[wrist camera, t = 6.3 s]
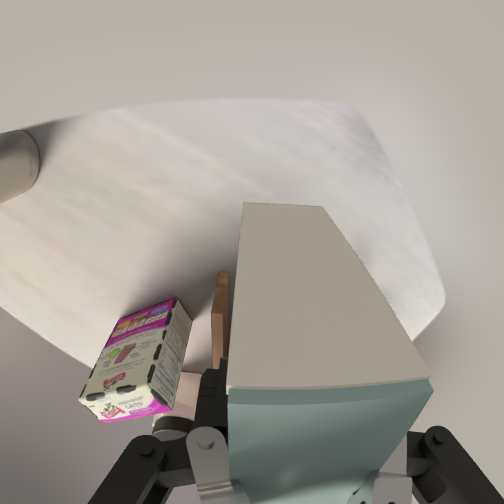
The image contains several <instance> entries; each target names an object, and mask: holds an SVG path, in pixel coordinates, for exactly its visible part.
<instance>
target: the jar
mask: <svg viewBox="0 0 504 504" xmlns="http://www.w3.org/2000/svg"><path fill="white" fill-rule="evenodd" d="M201 376H202V374H199V373H189V372H181V374H180V378H179V383H178V388H177V393H176V397H175V402H174V407H173V411H171V412H166V413H161V414H155V417H154V421H153V424H152V426H153V431H152V435H151V436H154V437H156V438H158V439H159V440H160V441H168V440H175V439H179V438H182V437H184V436H185V435H187V434H188V433H189V432H190V430H191V429H192V427H193V423H194V416H195V410H196V404H197V398H198V392H199V386H200V380H201Z"/></svg>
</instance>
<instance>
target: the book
mask: <svg viewBox="0 0 504 504" xmlns="http://www.w3.org/2000/svg"><path fill="white" fill-rule="evenodd" d="M430 376H431V375H430V373H429V372H428V369H427V368H426V366H425V364H424V362H423V361H422V359H421V357H420V355H419V353H418V352H417V350H416V348H415V347H414V345H413V343H412V341H411V340H410V338H409V336H408V335H407V333H406V331H405V329H404V328H403V326H402V324H401V323H400V321H399V320H398V318H397V316H396V315H395V313H394V311H393V310H392V308H391V307H390V305H389V303H388V302H387V300H386V299H385V297H384V295H383V294H382V292H381V291H380V289H379V288H378V286H377V285H376V283H375V281H374V280H373V278H372V277H371V275H370V274H369V272H368V271H367V269H366V268H365V266H364V265H363V263H362V262H361V260H360V259H359V257H358V256H357V254H356V253H355V251H354V250H353V249H352V247H351V246H350V244H349V243H348V241H347V240H346V238H345V237H344V236H343V234H342V233H341V231H340V230H339V229H338V227H337V226H336V224H335V223H334V222H333V220H332V219H331V217H330V216H329V215H328V213H327V212H326V210H325V209H324V208H323V207H320V206H306V205H289V204H269V203H246V202H244V203H243V210H242V220H241V230H240V240H239V250H238V260H237V271H236V281H235V292H234V302H233V313H232V324H231V335H230V346H229V358H228V369H227V381H226V395H228V446H229V479H239V481H240V482H241V483H242V484H243V486H244V488H245V490H246V493H247V496H248V498H249V501H250V503H251V504H347V502H348V499H349V497H350V495H351V494H352V493H355V492H358V491H359V489H360V488H361V487H362V486H363V484H364V482H365V479H366V476H367V475H368V474H369V472H370V471H371V470H376V469H381V467H382V466H383V465H384V463H385V462H386V461H387V460H388V458H389V457H390V456H391V454H392V453H393V452H394V450H395V449H396V448H397V446H398V445H399V444H400V442H401V441H402V439H403V438H404V436H405V435H406V434H407V432H408V431H409V429H410V428H411V426H412V425H413V423H414V422H415V420H416V419H417V417H418V416H419V414H420V413H421V411H422V409H423V408H424V406H425V405H426V403H427V401H428V400H429V398H430V396H431V394H432V393H433V391H434V390H433V388H432V386H431V384H430V382H429V381H428V380H429V378H430Z"/></svg>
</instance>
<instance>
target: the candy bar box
mask: <svg viewBox="0 0 504 504" xmlns="http://www.w3.org/2000/svg"><path fill="white" fill-rule="evenodd" d="M191 326H192V320H191V318H190V316H189V315H188V314H187V312H186V311H185V310H184V308H183V306H182V305H181V303H180V302H179V300H178V299H177V297H174V298H172V299H169V300H167V301H164V302H162V303H160V304H157V305H155V306H152V307H150V308H147V309H145V310H142V311H140V312H137V313H135V314H132V315H130V316H127V317H125V318H122V319H120V320H118V322H117V324H116V326H115V327H114V329H113V331H112V333H111V335H110V337H109V339H108V341H107V343H106V345H105V347H104V348H103V350H102V352H101V354H100V357H99V358H98V360H97V362H96V364H95V366H94V368H93V370H92V372H91V375H90V377H89V379H88V380H87V383H86V385H85V387H84V389H83V391H82V393H81V395H80V398H79V399H78V400H79V401H80V402H81V403H82V404H83V405H84V406H85V407H86V408H88V409H89V411H91V412H92V413H93V414H94V415H96V417H97V418H98V419H99V420H100V421H102V422H103V423H106V422H112V421H119V420H125V419H132V418H138V417H144V416H150V415H155V414H161V413H166V412H171V411H173V407H174V402H175V397H176V393H177V388H178V383H179V378H180V374H181V370H182V364H183V361H184V357H185V352H186V347H187V343H188V339H189V335H190V330H191Z"/></svg>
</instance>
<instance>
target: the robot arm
mask: <svg viewBox="0 0 504 504" xmlns="http://www.w3.org/2000/svg"><path fill="white" fill-rule="evenodd" d="M38 172H39V153H38V149H37V146H36V144H35V142H34V140H33V139H32V137H31V136H30V135H29V134H27V133H26V132H24V131H21V130H16V131H11V132H5V133H1V134H0V204H1V203H3V202H5V201H7V200H9V199H11V198H13V197H16V196H18V195H20V194H22V193H24V192H26V191H28V190H29V189H30V188H31V187H32V186H33V184H34V183H35V181H36V179H37V176H38ZM227 369H228V358H226V357H220V364H219V369H208V368H207V370H206V371H205V372H204V374H203V375H202V376H201V380H200V386H199V392H198V398H197V404H196V410H195V416H194V423H193V427H192V429H191V430H190V432H189V433H188V434H187V435H185V436H184V437H182V438H179V439H175V440H168V441H160V440H159V439H158V438H156V437H154V436H151V435H141V436H138V437H136V438H134V439H133V440H131V442H130V443H129V444H128V446H127V447H126V449H125V450H124V452H123V453H122V455H121V456H120V457H119V459H118V461H117V462H116V463H115V465H114V466H113V468H112V469H111V471H110V472H109V473H108V475H107V476H106V478H105V479H104V481H103V482H102V484H101V485H100V486H99V488H98V489H97V491H96V492H95V494H94V495H93V497H92V498H91V499H90V501H89V502H88V504H165V503H166V501H167V499H168V497H169V495H170V493H171V492H172V490H173V488H174V487H178V486H185V485H190V484H196V485H197V489H198V492H199V496H200V499H201V503H202V504H251V503H250V501H249V498H248V496H247V493H246V490H245V488H244V486H243V484H242V483H241V482H240V481H239V479H229V446H228V395H226V381H227ZM412 494H413V495H414V496H415V498H416V499H417V501H418V502H419V504H504V499H503V498H502V497H501V495H500V494H499V493H498V491H497V490H496V489H495V487H494V486H493V485H492V484H491V482H490V481H489V480H488V478H487V477H486V476H485V475H484V473H483V472H482V471H481V470H480V468H479V467H478V466H477V464H476V463H475V462H474V461H473V459H472V458H471V457H470V456H469V454H468V453H467V452H466V451H465V450H464V448H463V447H462V446H461V445H460V443H459V442H458V441H457V440H456V438H455V437H454V436H453V435H452V433H451V432H450V431H449V430H448V429H446V428H445V427H442V426H433V427H430V428H429V429H428V430H427V431H426V432H425V433H421V432H411V431H408V432H407V434H406V435H405V436H404V438H403V439H402V441H401V442H400V444H399V445H398V446H397V448H396V449H395V450H394V452H393V453H392V454H391V456H390V457H389V458H388V460H387V461H386V462H385V463H384V465H383V466H382V467H381V469H376V470H371V471H370V472H369V474H368V475H367V476H366V479H365V482H364V484H363V486H362V487H361V488H360V489H359V491H358V492H355V493H352V494H351V495H350V497H349V499H348V502H347V504H411V501H412Z"/></svg>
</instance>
